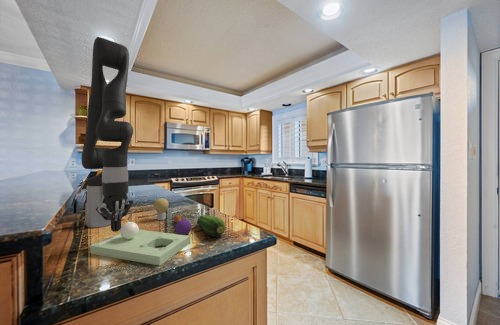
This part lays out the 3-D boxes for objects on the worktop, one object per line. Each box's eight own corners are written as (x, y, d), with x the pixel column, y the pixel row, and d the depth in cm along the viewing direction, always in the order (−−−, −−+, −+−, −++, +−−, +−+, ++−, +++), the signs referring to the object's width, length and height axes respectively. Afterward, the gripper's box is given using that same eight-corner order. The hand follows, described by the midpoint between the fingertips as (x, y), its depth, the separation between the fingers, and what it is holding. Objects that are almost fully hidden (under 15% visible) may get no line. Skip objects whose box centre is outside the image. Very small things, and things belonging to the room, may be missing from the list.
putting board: (90, 253, 67) (90, 244, 67) (131, 235, 82) (131, 228, 82) (159, 265, 60) (159, 256, 60) (190, 243, 76) (190, 235, 76)
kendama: (185, 212, 101) (194, 221, 83) (183, 225, 100) (191, 237, 82) (172, 211, 98) (178, 220, 80) (169, 224, 98) (175, 236, 80)
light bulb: (171, 218, 104) (171, 197, 103) (160, 222, 98) (160, 200, 97) (161, 216, 106) (161, 196, 106) (150, 220, 100) (150, 199, 100)
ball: (116, 240, 71) (115, 224, 70) (129, 234, 76) (129, 219, 76) (129, 242, 69) (129, 225, 69) (142, 236, 74) (142, 220, 74)
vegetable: (215, 217, 78) (197, 206, 95) (206, 236, 77) (189, 222, 94) (231, 223, 82) (211, 212, 99) (223, 242, 80) (204, 227, 97)
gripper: (122, 177, 80) (123, 223, 81) (87, 182, 68) (88, 236, 68) (139, 178, 78) (139, 225, 79) (106, 183, 66) (107, 239, 66)
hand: (116, 230), depth 74 cm, fingers closed
